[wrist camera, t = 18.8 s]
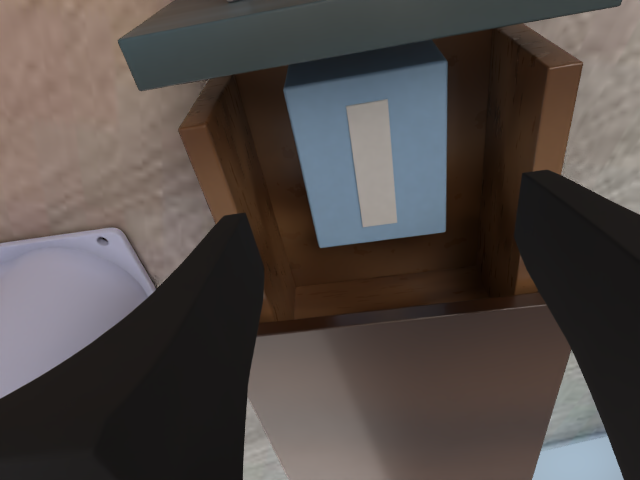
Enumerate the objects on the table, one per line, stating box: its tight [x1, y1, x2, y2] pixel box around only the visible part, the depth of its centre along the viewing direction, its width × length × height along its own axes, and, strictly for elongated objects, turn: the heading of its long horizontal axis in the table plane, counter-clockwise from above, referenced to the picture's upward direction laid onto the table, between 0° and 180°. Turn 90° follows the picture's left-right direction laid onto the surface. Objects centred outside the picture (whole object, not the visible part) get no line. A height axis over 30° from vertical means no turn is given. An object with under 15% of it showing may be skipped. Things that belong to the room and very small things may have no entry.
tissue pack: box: [283, 40, 448, 248], centre depth 15 cm, size 5×6×3 cm
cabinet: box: [247, 291, 571, 480], centre depth 21 cm, size 14×12×7 cm
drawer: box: [118, 0, 622, 323], centre depth 13 cm, size 20×11×5 cm, turn 10°
